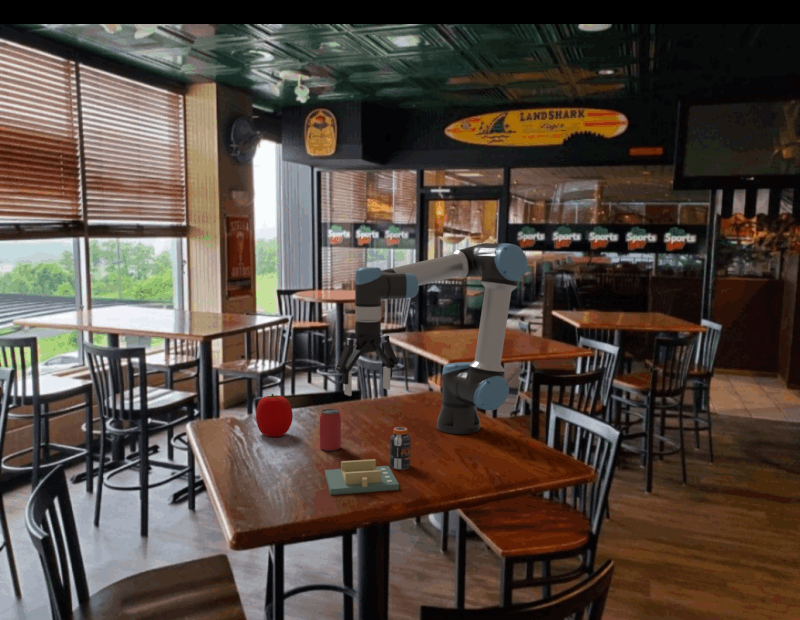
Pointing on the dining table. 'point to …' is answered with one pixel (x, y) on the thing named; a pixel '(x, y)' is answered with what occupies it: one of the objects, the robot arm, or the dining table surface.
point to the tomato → (274, 415)
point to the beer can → (330, 430)
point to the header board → (360, 478)
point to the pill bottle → (400, 449)
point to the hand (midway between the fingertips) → (367, 391)
